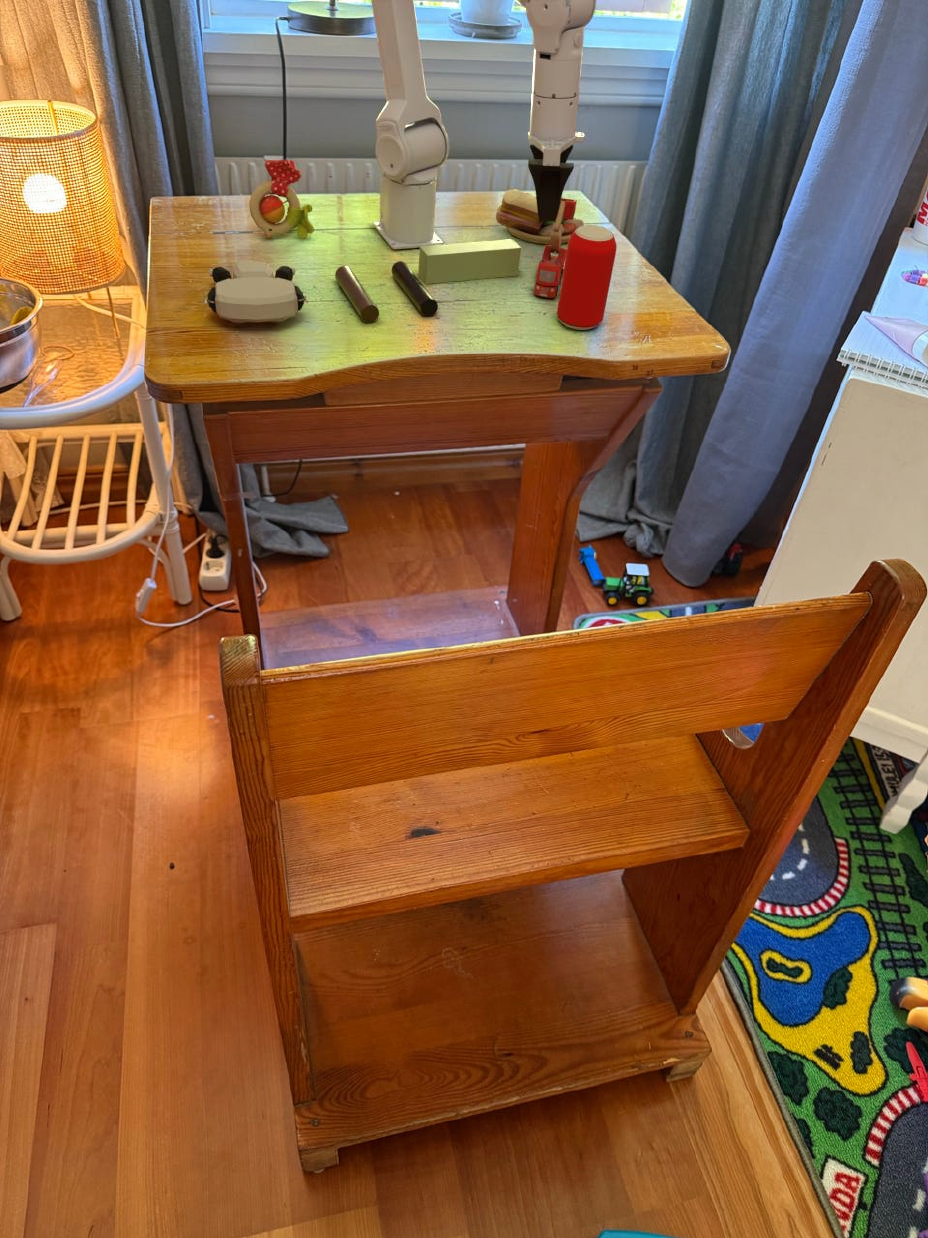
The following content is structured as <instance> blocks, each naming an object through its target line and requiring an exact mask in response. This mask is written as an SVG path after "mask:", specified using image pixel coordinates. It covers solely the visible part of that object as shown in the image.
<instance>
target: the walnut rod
mask: <svg viewBox="0 0 928 1238" xmlns="http://www.w3.org/2000/svg"><path fill="white" fill-rule="evenodd" d="M334 273H335V274H334V278H335V280H336V281H337V284H338V285H339V287H340V288H341V289H342V291H343V292H344V294H345V295H346V297H347V299H348V300H349V301H350V303H351V305H352V306H353V308H354V309H355V311H356V312H357V314H358V315H359V317H360V318H361V320H362V321H363V322H364V323H367V324H372V323H375V322H376V321H377V320H378V318H379V317H380V310H379V308H378V307H377V305H376V304H375V302H374V301H373V299H372V298H371V297H370V295H369V294H368V292H367V290H366V289H365V288H364V286H363V284H362V283H361V282H360V281H359V279H358V278H357V276H356V275H355V273H354V272H353V270H352V269H351V267H349V266H347V265H341V266H339V267H338V268H337V269H336V270H335V272H334Z"/></svg>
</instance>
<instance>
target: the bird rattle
mask: <svg viewBox="0 0 928 1238" xmlns="http://www.w3.org/2000/svg"><path fill="white" fill-rule="evenodd" d="M264 167H265V170H266V172H267V174H268V175H269V176H270V179H269V180H266V181H263V182H262V183H260V184H259V185H257V186H256V187H255V189H254V190H253V191H252V193H251V195H250V199H249V213H250V215H251V218H252V219H253V222H254V224H255V225H256V226H257V227H258V229H260V230H261V231H262V232H263V234H264V237H265V238H266V239H271V238H272V237H273V236H278V235H283V234H287V232H292V231H293V230H295V229H296V232H297V236H298V238H300V239H303V240H304V239H306V238H307V237H308V235H309V234H310V235H312V234H313V233H314V232H315V227H314V226H313V224H312V223H311V221H310V220H309V213H312V212H313V206H312V205H311V204H309V203H306V204H304V205H303V206H301V203H300V199H299V197H298V196H297V195H298V194H297V192H295V190H294V188H292V187H291V186H290V185H291V184H295V183H298V182H299V181H300V179H301V178H302V172H301V170H299V169H296V165H295V161H294V160H287V159H286V158H283V159H280V160H267V161H265V163H264ZM280 197H281V198H285V199H286V200H285V201H283V200H282V199H281V198H280ZM286 203H288V206H287V208H285V204H286ZM286 209H287V211H286ZM285 214H286V216H285ZM283 219H284V220H283Z"/></svg>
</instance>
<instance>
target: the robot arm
mask: <svg viewBox="0 0 928 1238" xmlns="http://www.w3.org/2000/svg"><path fill="white" fill-rule="evenodd" d="M370 2H371V7H372V14H373V21H374V26H375V34H376V39H377V40H376V41H377V47H378V53H379V59H380V66H381V72H382V77H383V85H384V92H385V97H386V103H385V105H384V107H383V109H382V110H381V112H380V113H379V115H378V116H377V118H376V120H375V123H374V124H375V129H376V141H375V147H374V151H375V152H374V153H375V158H376V159H375V160H376V163H377V165H378V167H379V169H380V171H381V172H382V177H381V179H380V184H379V187H380V188H379V221H375V222H373V227H374V229H376V230H377V232H378V233H379V234H380V236H381V237H382V238H383V239H384V241H385V242H386V243H387V244H388V246H389V247H390V248H391V249H392V250H403V249H404V250H405V249H417V248H420V246H429V245H442V244H444V242H443V240H442V239H441V238H440V237H439V236H438V235H437V233H436V232H435V216H436V215H435V214H436V200H437V199H436V197H437V181H438V180H437V178H438V177H437V176H438V175H440V172H441V166H442V165H444V164H445V163H446V162H447V159H448V157H449V155H450V139H449V135H448V133H447V131H446V129H445V126H444V124H443V121H442V115H441V109H440V108H439V107H438V106H437V105H436V104H435V103H434V102H433V101H432V100H431V99H430V98H429V97H428V95H427V91H426V83H425V75H424V67H423V61H422V53H421V45H420V40H419V39H420V38H419V37H420V36H419V31H418V23H417V16H416V15H417V14H416V7H415V1H414V0H370ZM515 2H517V4H519V5H520V6H521V7H522V8H523V9H524V10H525V14H526V18H527V22H528V24H529V26H530V29H531V32H532V44H531V45H532V46H534V48H533V49H534V50H533V66H532V69H533V70H532V87H531V105H530V125H529V131H528V132H527V141H528V142H529V149H530V150H531V154H532V156H533V158H528V161H527V167H528V171H529V174H530V176H531V178H532V181H533V185H534V190H535V196H536V200H537V211H538V217H539V220H540V221H555V219H556V217H557V213H558V210H559V206H560V201H561V198H563V197H562V196H563V192H564V189H565V188H566V184H567V182H568V180H569V178H570V176H571V175H572V173H573V170H574V169H575V163H574V162H567V161H568V159H569V156H570V154H571V153H572V151H573V149H574V144H576V143H584V142H585V141H586V140H585V139H586V134H585V132H578V131H577V124H578V123H577V121H578V111H579V98H580V97H579V96H580V86H581V75H582V63H583V61H582V60H583V51H584V50H583V49H584V38H585V27H587V25H589V24H590V22H591V21H592V20H593V17H594V15H595V12H596V7H597V0H515Z"/></svg>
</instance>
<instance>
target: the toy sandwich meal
mask: <svg viewBox="0 0 928 1238" xmlns="http://www.w3.org/2000/svg"><path fill="white" fill-rule="evenodd" d="M495 219H496V221H497V223H498V224H499V225H502V226H504V227H505V228H506V229H507V230H508V232H509V234H511V235H513V236H514V237H516V238H518V239H520V240H522V241H525V242H529V243H534V244H539V245H551V231H552V227H553V223H556V220H557V218H556V219H555V221H540V220H539V217H538V211H537V200H536V195H533V194H531V193H530V192H529V193H528V192H523V191H521V190H519V189H515V188H514V189H513V188H512V189H509V190H507V191H505V192H504V193H503V196H502V200H501V204H500V205H499V206H498V208H497V209H496V214H495ZM561 224H562V238H561V245H562V244H566V243H568V240H569V238H570V236H571V235H572V234H573V232H574V231H575V230H576V229H577V228H579V227H580V226H584V225H585V224H584V220H582V219H579V218H576V217H575V216H574V217H573V220H571V219H563V218H562V222H561Z"/></svg>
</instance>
